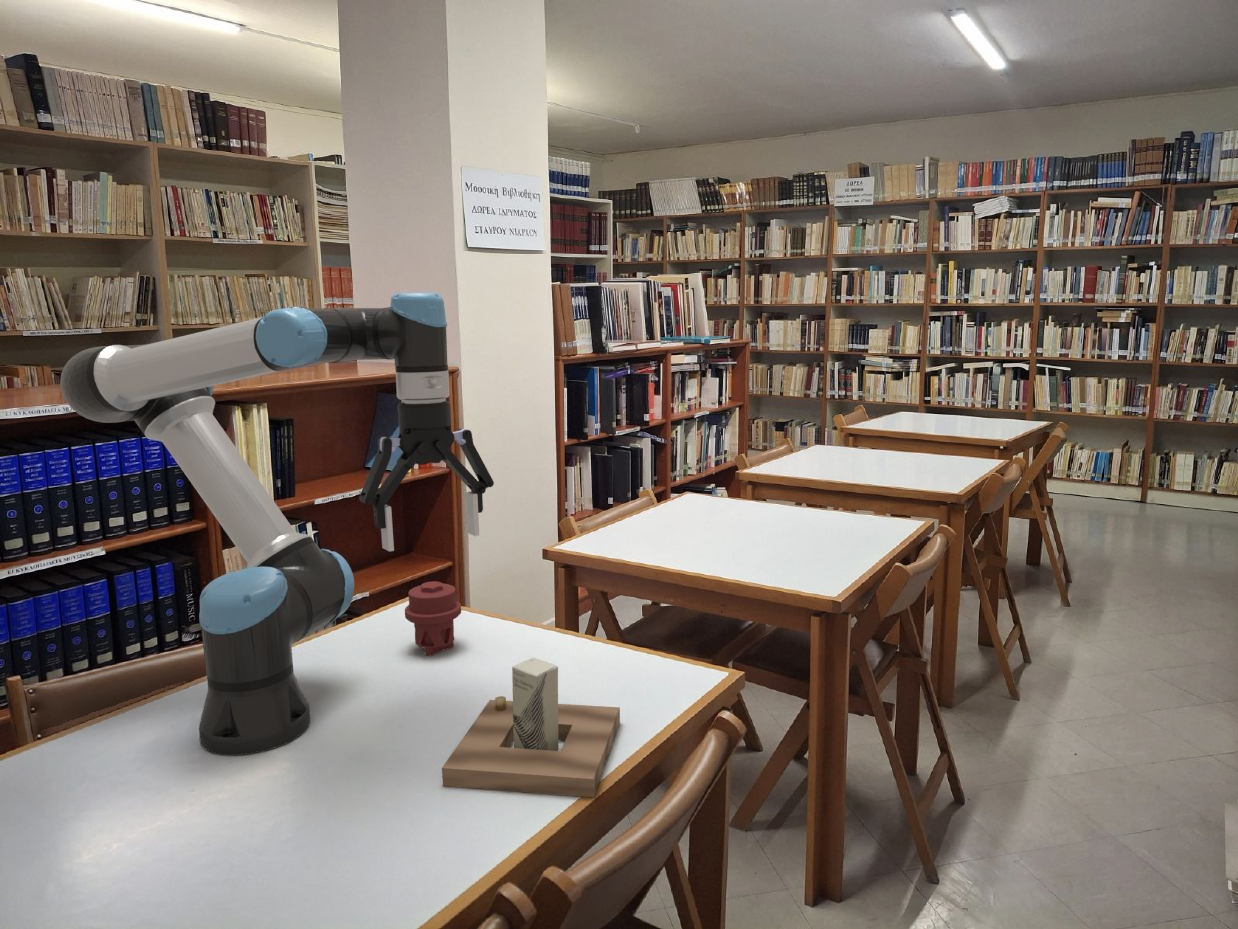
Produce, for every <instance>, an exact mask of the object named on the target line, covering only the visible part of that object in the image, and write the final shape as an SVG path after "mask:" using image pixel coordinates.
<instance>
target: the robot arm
mask: <svg viewBox="0 0 1238 929" xmlns="http://www.w3.org/2000/svg"><path fill="white" fill-rule="evenodd" d="M447 327H448V322H447V317H446V309H445V301H444V298H443V297H442V295H440V294H439V293H437V292H402V293H401V292H400V293H399V292H398V293H397V292H396V293H394V294H393V295H392V296H391V297H390V305H389V306H387V307H336V308H335V307H334V308H332V307H327V308H325V307H324V308H318V307H317V308H313V307H312V308H311V307H299V306H291V307H285V308H284V307H283V308H277V309H273V310H271V311H269V312H268V313H266V314H265V315H263V316H261V317H257V318H254V319H248V320H244V321H241V322H236V323H232V324H228V325H223V326H219V327H215V328H212V329H207V330H203V331H198V332H195V333H190V334H187V335H183V336H178V337H173V338H169V339H166V340H161V341H158V342H157V341H156V342H152V343H146V344H134V345H133V344H132V345H131V344H130V345H122V344H112V345H104V346H102V345H101V346H94V347H89V348H87V349H83V350H82V351H80V352H77V353H76V354H75V355H73V356H72V357H71V358H70V359H69V360H68V361H67V362H66V364H65V365H64V366H63V369H62V371H61V375H60V381H59V382H60V384H59V385H60V390H61V394H62V396H63V398H64V400H65V402H66V403H67V404H68V405H69V407H70V408H71V409H72V411H75V412H76V413H77V415H79V416H81V417H84V418H85V419H88V420H91V421H93V422H98V423H104V424H105V423H106V424H107V423H108V424H109V423H111V424H112V423H122V422H130V421H131V422H132V421H134V422H135V424H136V425H137V426H138V428H139V429H140V430H141V432H142V433H143V435H144V436H145V437H146V438H147V439H148V440H151V441H158V442H161V443H162V444H163V445H164V447H165V448H166V449H167V451H168V452H169V454H170V455H171V456H172V458H173V460H174V461H175V462H176V463H177V465H178V466H179V468H180V469H181V470H182V472H183V473H184V475H185V476H186V477H187V479H188V481H189V482H190V483H191V485H192V486H193V488H194V489H195V491H197V493H198V494H199V496H200V498H201V499H202V500H203V502H204V503H205V505H206V506H207V507H208V509H209V510H210V512H211V514H212V515H213V516H214V517H215V519H216V520H217V521H218V523H219V524H220V526H221V528H223V530H224V532H225V533H226V534H227V536H228V537H229V539H230V540H231V541H232V543H233V545H234V546H235V547H236V549H237V551H239V553H240V555H241V556H242V557H243V558H244V560H245V561H246V563H247V565H246V568H242V569H240V570H238V571H237V570H236V571H231V572H228V573H225V574H222V575H221V576H218V577H216V578H215V579H214V580H211V581H210V582H208V584H207V585H206V586H205V587H204V588H203V589H202V591H201V592H200V593H201V594H200V596H199V614H198V617H199V618H198V620H199V625H200V631H201V638H202V647H203V655H204V662H205V663H204V664H205V670H206V679H207V692H206V696H205V700H204V704H203V708H202V714H201V717H200V720H199V724H198V731H199V732H198V733H199V741H200V742H199V743H200V746H201V747H203V749H204V750H206V751H208V752H211V753H214V754H218V755H227V756H228V755H229V756H236V755H237V756H238V755H249V754H250V755H251V754H256V753H260V752H264V751H265V752H266V751H269V750H271V749H275V748H277V747H280V746H284V745H285V744H287V743H289V742H292V741H293V740H295V739H297V738H298V737H300V736H301V735H302V734H304V733H305V732H306V731H307V729H308V728H309V727H310V724H311V712H310V711H311V709H310V704H309V702H308V700H307V699H306V696H305V694H304V692H303V690H302V688H301V686H300V682H299V681H298V679H297V677H296V675H295V671H294V663H293V662H294V661H293V652H292V650H293V649H292V646H293V645H294V644H296V643H297V642H300V641H301V640H302V639H304V638H306V637H308V636H309V635H311V634H313V633H314V632H317V631H318V630H320V629H321V628H325V627H328V626H329V625H331V624H332V623H333V622H334V621H336V619H338V618H339V617H340V616H342V615H343V614H344V613H345V612H347V610H348V608H349V607H350V605H351V603H352V602H353V598H354V590H355V578H354V574H353V571H352V568H351V567H350V565H349V563H348V561H347V560H346V559H345V558H344V557H343V556H342V555H341V554H339V553H338V552H336V551H331V550H330V549H325V548H321V549H320V547H319V546H318V545H317V542H315V540H314V539H313V537H312V536H311V535H310V534H305V533H301V532H297V531H296V530H294V528H293V526H292V525H291V524H290V522H289V521H288V519H287V518H286V516H285V515H284V513H282V510H281V509H280V508H279V507H278V505H277V503H276V502H275V501H274V499H273V498H272V496H271V495H270V494H269V492H268V491H267V489H266V488H265V487H264V485H263V484H262V483H261V481H260V479H259V478H258V476H256V474H255V472H254V471H253V470H252V468H251V467H250V465H249V464H248V463H247V461H246V460H245V458H244V457H243V456H242V454H241V453H240V451H239V449H238V448H237V447H236V445H235V444H234V443H233V440H231V438H230V437H229V436H228V434H227V432H226V431H225V430H224V428H223V426H221V424H220V423H219V422H218V420H217V419H216V417H215V416H214V415H213V414H214V409H215V405H216V401H215V399H214V397H213V396H212V395H213V392H214V386H219V385H222V384H227V383H231V382H235V381H236V382H237V381H241V380H245V379H250V378H253V377H254V378H255V377H260V376H264V375H269V374H273V373H278V372H282V371H283V372H284V371H285V372H286V371H288V370H295V369H299V368H303V367H304V368H305V367H308V366H314V365H321V364H330V363H333V364H334V363H341V362H353V361H369V360H374V361H375V360H389V361H391V360H394V367H395V369H394V370H395V383H396V384H395V385H396V386H395V387H396V398H397V399H398V400H401V402H399V403H398V405H397V416H398V428H399V433H398V437H386V436H383V435H382V436H379V438H377V452H376V455H375V458H374V459H373V462H372V465H371V467H370V469H369V472H368V475H367V477H366V480H365V481H364V484H363V487H362V489H361V492H360V494H359V497H358V499H359V501H360V502H361V503H363V504H365V505H368V506H372V508H373V524H374V526H375V528H377V529H378V530H380V533H381V535H380V536H381V546H382V549H384V550H386V551H387V552H394V551H395V546H394V545H395V544H394V531H393V530H394V528H393V517H392V516H393V515H392V514H393V513H392V506H390V505H388V504H387V503H388V502H389V500H390V499H391V498H392V496H393V495H394V493H395V492H396V490H397V489H398V487H400V484H401V483H402V482H403V480H404V479H405V477H406V476H407V475H408V472H409V471H411V470H412V469H413V468H414V467H415V466H416V465H418V466H424V465H425V466H426V465H428V464H430V463H431V464H440V463H441V462H443V463H445V465H446V466H448V467H449V468H450V470H452V472H453V473H454V474H455V475H456V476H457V477H458V478H459V479H460V480H461V481H462V482H463V483H464V485H465V486H466V487H468V489H469V490H470V491H464V496H465V513H466V514H465V515H466V533H467V534H469V535H471V536H473V537H478V536H479V537H480V524H479V522H480V521H479V513H483V511H484V504H483V500H484V499H483V494H485V493H486V489H488V488H492V487H493V486H494V484H495V483H494V480H493V478H492V476H491V474H490V472H489V470H488V468H487V466H486V464H485V463H484V461H483V459H482V457H481V455H480V454H479V452H478V450H477V448H476V446H475V444H474V439H473V433H472V430H470V429H466V428H459V429H458V430H457V431H452V414H451V413H452V412H451V403H450V401H449V400H446V399H447V398H449V397H450V395H451V394H450V379H449V378H450V375H449V366H448V341H447ZM454 442H456V444H458V445H459V447H460V449H461V450H462V452H463V454H464V456H465V458H466V460H467V462H468V464H469V465H470V467H471V469H472V471H473V472H474V475H475V476H476V478H477V479H476V478H475V477H474V475H473V474H472V472H470V471H469V470H468V469H467V468H466V467H465V466H464V464H462V463H461V461H460V460H459V459H458V457H457V456H456V455H455V454H454V452H452V451H451V449H450V448H451V447H452V445H453V443H454ZM397 447H398V448H399V449H400V450H401V451H402V453H401V454H400V456H399V457H398V459H397V460H396V463H395V465H394V466H393V468H392V470H391V471H390V472H389V474H388V475H387V477H386V478H385V479H384V481H383V482H382V480H383V478H384V475H385V473H386V470H387V468H388V465H389V463H390V461H391V457H392V453H394V452H396V448H397ZM381 482H382V484H381ZM380 484H381V485H380Z"/></svg>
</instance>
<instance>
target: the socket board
mask: <svg viewBox="0 0 1238 929" xmlns="http://www.w3.org/2000/svg"><path fill="white" fill-rule="evenodd" d="M620 708H621V707H615V706H602V705H601V706H600V705H585V704H584V705H583V704H568V703H566V704H565V703H558V741H564V742H563V745H562V747H561V748H560V750H559V751H550V750H536V749H521V748H514V747H511V746H512V744H513V743H514V739H513V700H507V697H506V696H503V695H502V696H496V697H495V698H494V699H489V700H488V702H487V703H486V704H485V706H484V707H483V709H482V710H481V712H480V713H479V714H478V716H477V717H476V718H475V720H474V721H473V723H472V725H471V726H470V727H469V728H468V730H467V732H466V733H465V734H464V736H463V737H462V739H461V740H460V741H459V742H458V744H457V746H456V747H455V748H454V750H453V751H452V753H451V754H450V756H449V757H448V759H447V760H446V761H445V762H444V764H443V765H442V767H441V779H442V786H444V787H453V788H454V787H456V788H457V787H458V788H465V789H466V788H467V789H469V788H471V789H483V790H491V791H492V790H494V791H504V792H505V791H506V792H519V793H533V794H544V795H545V794H547V795H557V796H558V795H560V796H570V797H571V796H572V797H583V798H595V795H596V793H597V789H598V787H599V784H600V781H601V778H602V775H603V773H604V770H605V768H606V765H607V761H608V758H609V755H610V752H611V750H612V748H613V745H614V742H615V738H616V736H617V733H618V731H619V727H620V725H621V715H620V714H621V709H620Z"/></svg>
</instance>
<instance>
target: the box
mask: <svg viewBox="0 0 1238 929" xmlns="http://www.w3.org/2000/svg"><path fill="white" fill-rule="evenodd" d="M511 667H512V668H511V670H512V672H511V674H512V675H511V677H512V678H511V679H512V680H511V682H512V701H513V739H514V741H513V748H521V749H536V750H550V751H560V750H559V740H558V704H559V666H558V665H555V664H554V663H550V662H548V661H545V660H541V659H539V658H536V657H530V658H528V659H526V660H524V661H522V662H519V663H517V664H514V665H513V666H511Z"/></svg>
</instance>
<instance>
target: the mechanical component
mask: <svg viewBox="0 0 1238 929" xmlns="http://www.w3.org/2000/svg"><path fill="white" fill-rule="evenodd" d="M456 591H457V590H456V587H455V586H454V585H451V584H448V583H442V582H440V581H436V580H435V581H434V580H433V581H427V582H423V583H422V584H421V585H417V586H415V587H413V588H411V589H410V590H408V605H407V606H406V607H405V608H404V618H405V619H406V620H407V621H408V622H410V623H412V624H414V626H413V627H414V642H415V645H416V646H417V647H419V648H423V649H424V654H425V656H428V657H431V656H434V655H435V654H437V653H439V652H442V651H445V650H448V649H452V648H453V647H455V646H454V644H455V643H454V641H455V635H454V634H455V626H454V624H455V623H454V620H455V619H457V618H458V617H459V616H460V615H461V614H462V603H460V602H459V600H457V595H456V594H457V593H456Z"/></svg>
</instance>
